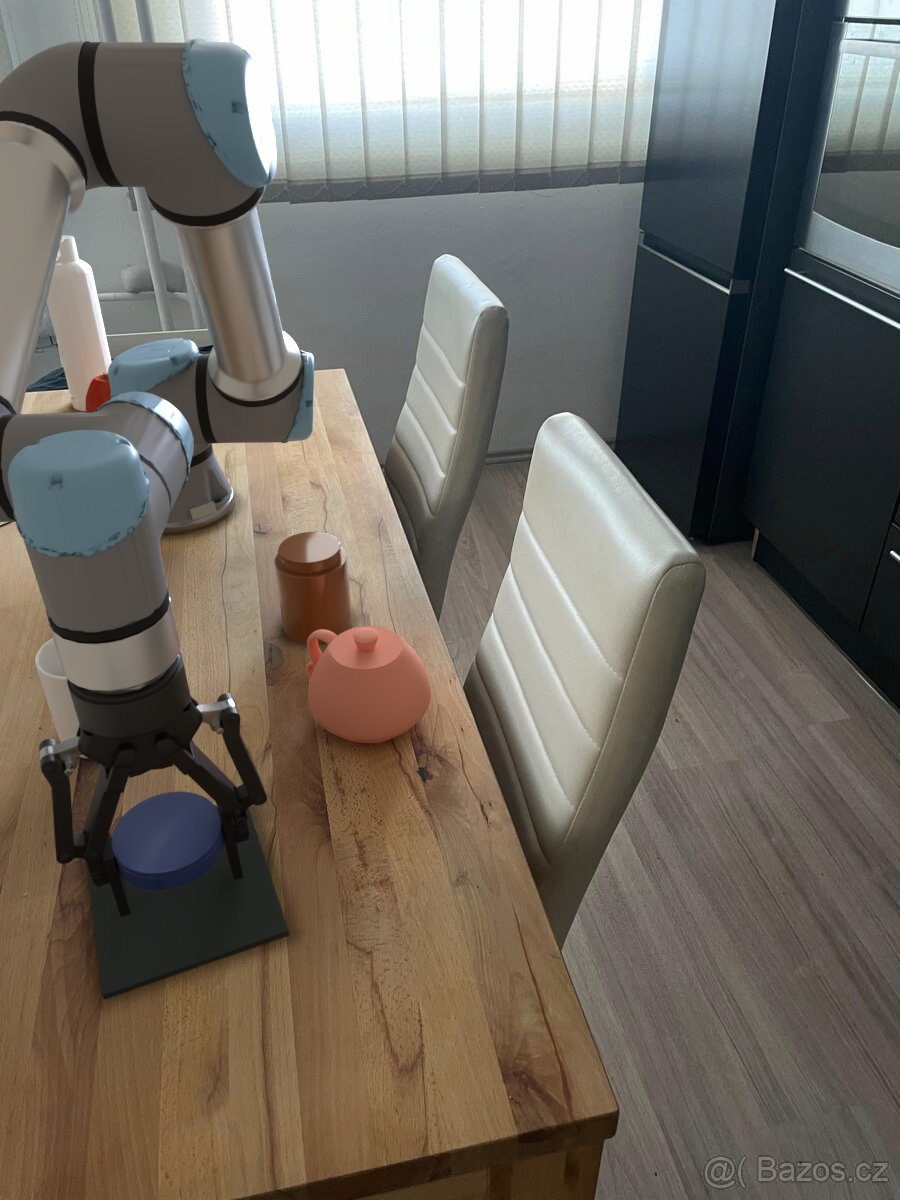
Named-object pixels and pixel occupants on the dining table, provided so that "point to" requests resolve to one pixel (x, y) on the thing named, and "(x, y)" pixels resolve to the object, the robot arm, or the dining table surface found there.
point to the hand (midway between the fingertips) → (180, 884)
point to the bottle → (77, 322)
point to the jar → (313, 585)
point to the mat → (185, 921)
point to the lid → (168, 840)
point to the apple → (98, 393)
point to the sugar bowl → (366, 684)
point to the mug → (57, 691)
